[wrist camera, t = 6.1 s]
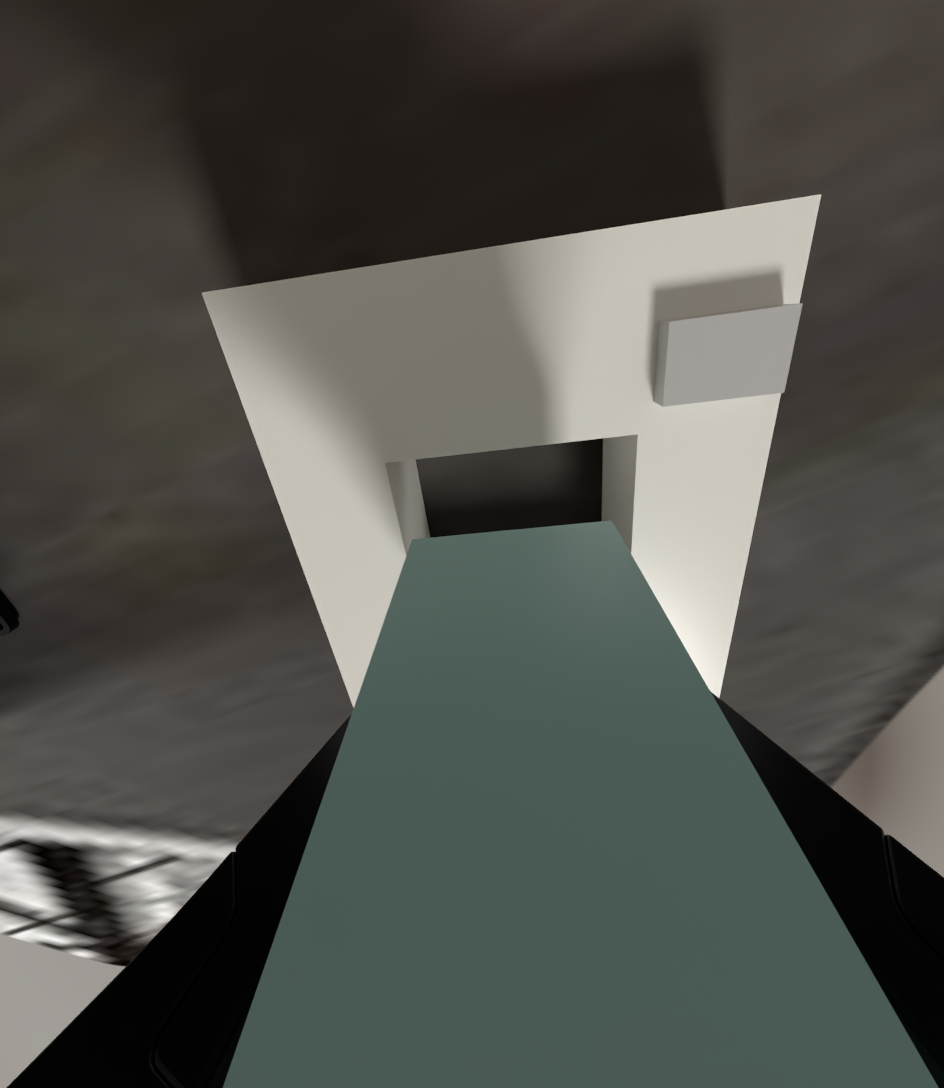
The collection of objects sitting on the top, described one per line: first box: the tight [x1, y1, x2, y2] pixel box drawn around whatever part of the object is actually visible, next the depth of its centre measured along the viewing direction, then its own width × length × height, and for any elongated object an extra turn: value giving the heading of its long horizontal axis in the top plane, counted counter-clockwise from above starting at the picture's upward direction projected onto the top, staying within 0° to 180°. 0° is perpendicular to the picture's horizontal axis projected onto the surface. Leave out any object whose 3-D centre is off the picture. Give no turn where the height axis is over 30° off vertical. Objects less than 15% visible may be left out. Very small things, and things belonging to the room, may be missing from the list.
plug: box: [223, 520, 938, 1088], centre depth 6 cm, size 4×4×8 cm
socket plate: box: [202, 195, 821, 707], centre depth 13 cm, size 12×14×4 cm
